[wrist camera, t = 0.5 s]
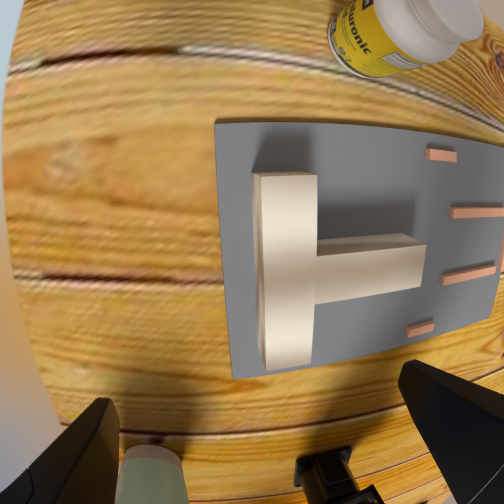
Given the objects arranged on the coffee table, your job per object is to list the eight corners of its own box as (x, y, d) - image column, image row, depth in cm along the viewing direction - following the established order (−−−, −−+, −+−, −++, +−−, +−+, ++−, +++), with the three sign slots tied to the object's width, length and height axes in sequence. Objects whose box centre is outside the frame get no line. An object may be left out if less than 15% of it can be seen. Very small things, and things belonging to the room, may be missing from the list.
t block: (389, 321, 24) (409, 340, 21) (257, 345, 22) (266, 371, 19) (405, 171, 20) (431, 176, 17) (250, 172, 18) (260, 176, 16)
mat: (487, 315, 27) (492, 319, 26) (232, 376, 23) (233, 383, 22) (511, 149, 22) (518, 150, 21) (214, 124, 18) (214, 123, 17)
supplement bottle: (323, 4, 16) (402, -64, 7) (391, 22, 17) (483, -18, 8) (325, 72, 18) (419, 28, 8) (394, 87, 18) (500, 69, 9)
